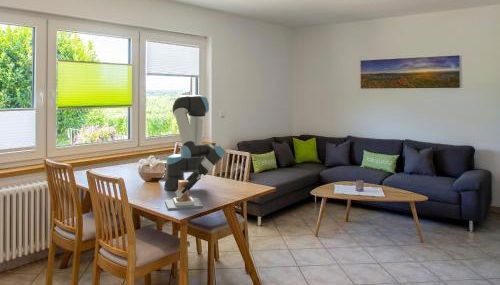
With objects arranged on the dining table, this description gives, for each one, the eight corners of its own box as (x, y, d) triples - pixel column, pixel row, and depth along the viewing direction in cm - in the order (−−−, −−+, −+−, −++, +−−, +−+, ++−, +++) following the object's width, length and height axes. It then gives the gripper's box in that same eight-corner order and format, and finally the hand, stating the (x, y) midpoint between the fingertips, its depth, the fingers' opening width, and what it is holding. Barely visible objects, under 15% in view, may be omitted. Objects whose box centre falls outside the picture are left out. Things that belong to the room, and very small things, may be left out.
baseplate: (168, 210, 228) (168, 204, 228) (164, 201, 245) (164, 196, 245) (203, 207, 234) (203, 202, 234) (197, 199, 251) (197, 194, 251)
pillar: (179, 202, 236) (179, 182, 234) (178, 200, 241) (178, 180, 239) (188, 201, 237) (188, 181, 236) (187, 199, 243) (187, 179, 241)
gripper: (212, 174, 233) (184, 203, 230) (206, 168, 250) (179, 195, 248) (203, 165, 231) (174, 195, 228) (197, 160, 248) (170, 187, 245)
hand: (177, 195), depth 238 cm, fingers closed on pillar, 5 cm apart
